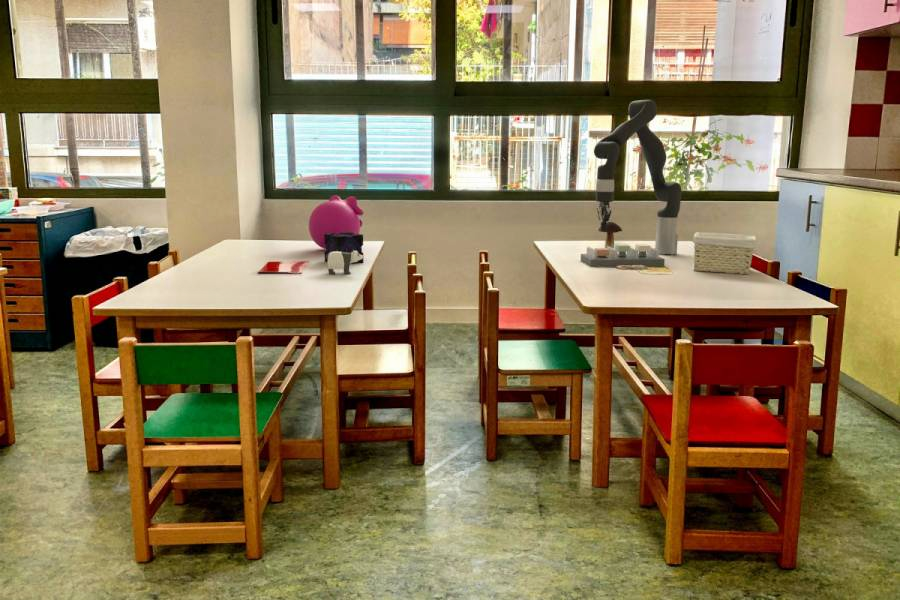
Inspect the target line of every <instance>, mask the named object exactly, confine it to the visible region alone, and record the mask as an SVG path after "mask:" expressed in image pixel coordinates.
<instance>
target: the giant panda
mask: <svg viewBox="0 0 900 600" xmlns="http://www.w3.org/2000/svg"><path fill="white" fill-rule="evenodd" d="M362 258H363V259H364V254H363V255H360V254H359V253H358V252H357V251H354V250H352V252H351V253H347V252H337V251H335V252H330V253H329V254H327V255H326V259H328V262H327V270H328V275H330V276H331V275H333V276H335V275H336V271H335V270H343V274H344V275H351V274H352V273H351V271H350V267H351V264H353V262H357V261H359V260H361V259H362Z"/></svg>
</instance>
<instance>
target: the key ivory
mask: <svg viewBox="0 0 900 600" xmlns="http://www.w3.org/2000/svg"><path fill="white" fill-rule="evenodd" d="M651 247H652V246H651V245H650V244H648V243H647V244H646V243H640V244H639V243H637V244H636V243H635V247H634V249H636V250H638V254H639V256H646V254H647V252H650V249H651Z"/></svg>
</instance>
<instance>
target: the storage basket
mask: <svg viewBox="0 0 900 600" xmlns="http://www.w3.org/2000/svg"><path fill="white" fill-rule="evenodd" d="M756 241H757V237H756V236H755V235H747V234H739V233H738V234H735V233H722V232H721V233H719V232H704V231H703V232H700V231H697V232H695V233H694V235H693V242H692V244H694V247H693V249H694V254H693V270H694V271H698V272H709V271H710V273H722V272H726V273H725V274H729V273H731V274H737V273H742V274H741V275H750V270H751V265H752V259H753V254H754V250H755V248H756V244H757V242H756Z"/></svg>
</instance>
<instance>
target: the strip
mask: <svg viewBox="0 0 900 600" xmlns="http://www.w3.org/2000/svg"><path fill="white" fill-rule="evenodd" d="M615 268H616V269H617V270H648V266H642V265H632V266H629V265H619V266H615Z"/></svg>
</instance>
